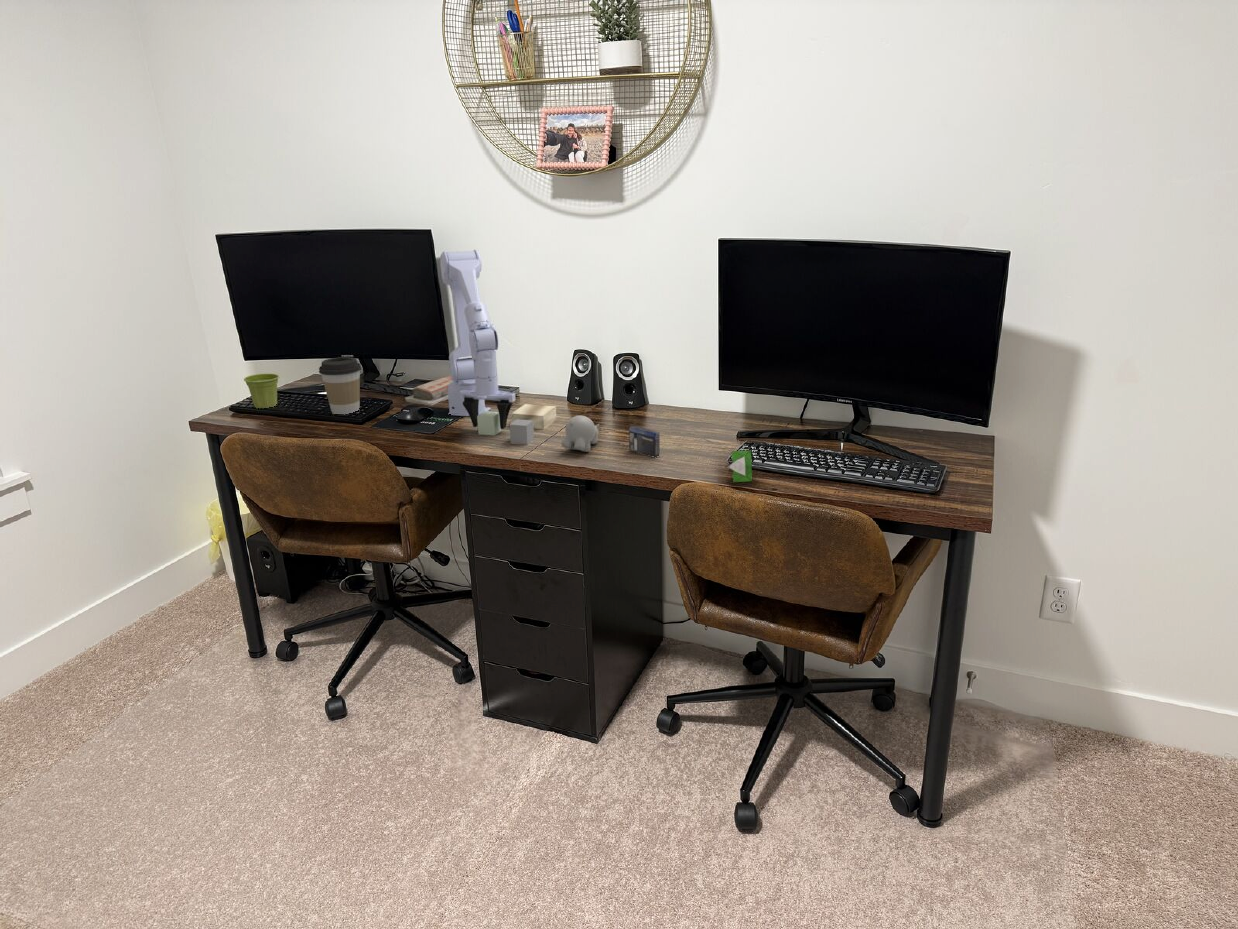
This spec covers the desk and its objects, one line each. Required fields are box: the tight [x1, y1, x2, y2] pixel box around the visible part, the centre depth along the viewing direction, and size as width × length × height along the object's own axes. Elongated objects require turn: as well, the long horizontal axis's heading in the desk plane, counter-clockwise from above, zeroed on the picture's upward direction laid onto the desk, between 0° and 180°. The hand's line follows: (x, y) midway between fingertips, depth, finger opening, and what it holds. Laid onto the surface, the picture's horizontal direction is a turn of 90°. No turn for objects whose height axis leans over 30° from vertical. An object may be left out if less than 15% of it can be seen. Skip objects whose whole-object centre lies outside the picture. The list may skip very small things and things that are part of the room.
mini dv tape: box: [628, 425, 661, 458], centre depth 203 cm, size 8×2×6 cm, turn 48°
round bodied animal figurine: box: [561, 414, 600, 453], centre depth 207 cm, size 7×12×8 cm, turn 148°
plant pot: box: [243, 373, 280, 409], centre depth 247 cm, size 9×9×9 cm
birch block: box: [511, 403, 557, 430], centre depth 228 cm, size 9×9×4 cm
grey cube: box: [509, 419, 535, 446], centre depth 214 cm, size 4×4×5 cm
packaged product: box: [404, 375, 453, 406], centre depth 255 cm, size 18×5×10 cm
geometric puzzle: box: [724, 449, 760, 483], centre depth 186 cm, size 7×7×8 cm
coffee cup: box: [318, 356, 362, 415], centre depth 238 cm, size 11×11×15 cm
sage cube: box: [477, 410, 503, 436], centre depth 221 cm, size 4×4×5 cm
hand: (489, 426), depth 221 cm, fingers open, 7 cm apart
